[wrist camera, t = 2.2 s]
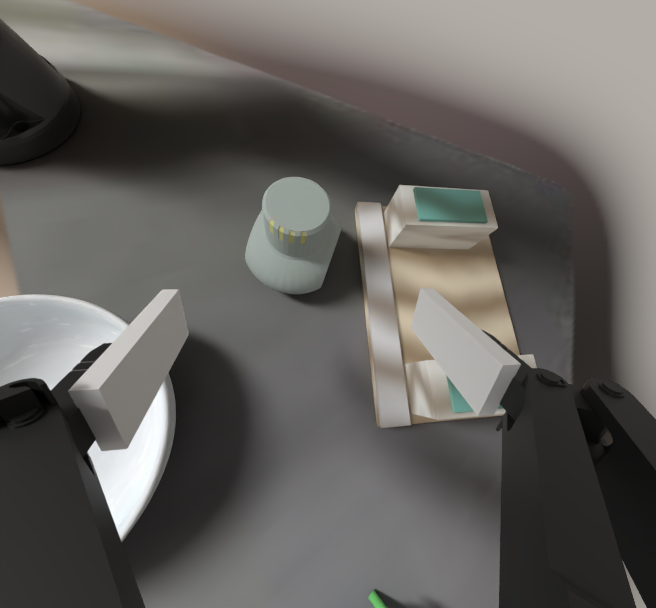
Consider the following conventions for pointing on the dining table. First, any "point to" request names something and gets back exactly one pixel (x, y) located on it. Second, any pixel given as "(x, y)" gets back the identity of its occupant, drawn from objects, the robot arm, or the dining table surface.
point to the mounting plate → (426, 272)
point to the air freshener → (293, 237)
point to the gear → (376, 600)
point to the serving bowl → (60, 358)
